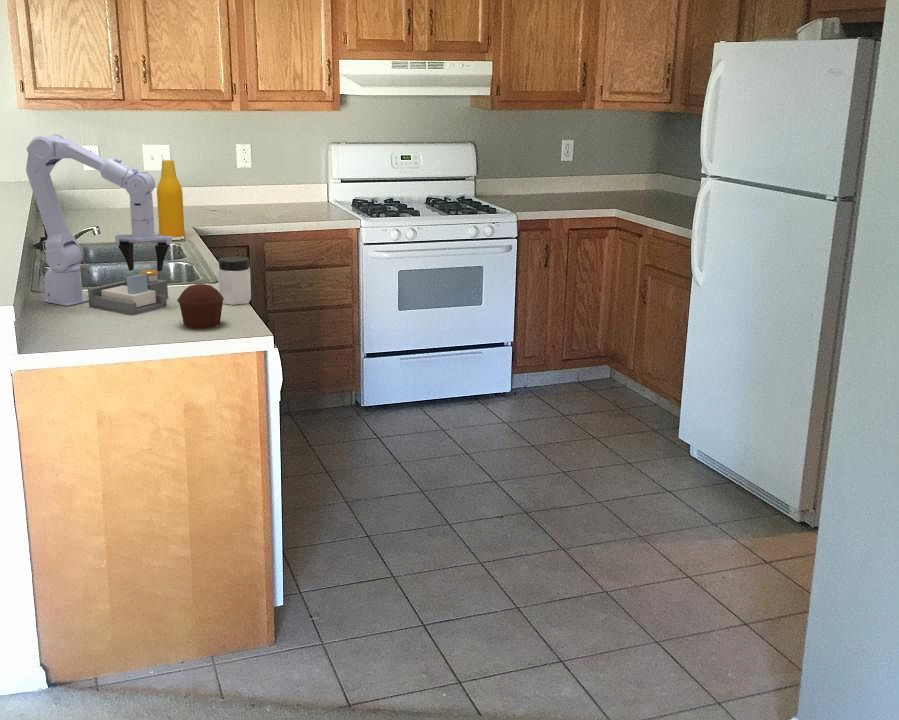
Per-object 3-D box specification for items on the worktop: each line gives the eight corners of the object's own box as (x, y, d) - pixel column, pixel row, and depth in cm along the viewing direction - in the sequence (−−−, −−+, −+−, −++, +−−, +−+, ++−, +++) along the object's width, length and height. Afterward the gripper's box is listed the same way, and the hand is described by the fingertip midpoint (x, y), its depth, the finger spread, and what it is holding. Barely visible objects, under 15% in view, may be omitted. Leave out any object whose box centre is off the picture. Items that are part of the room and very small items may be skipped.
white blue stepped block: (102, 301, 259) (99, 273, 257) (124, 296, 266) (122, 269, 263) (134, 307, 254) (132, 279, 252) (156, 302, 260) (154, 274, 258)
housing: (89, 307, 259) (87, 288, 258) (143, 294, 275) (142, 276, 274) (132, 315, 252) (131, 296, 250) (186, 301, 268) (185, 283, 266)
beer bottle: (169, 236, 371) (165, 159, 362) (190, 238, 367) (186, 160, 359) (154, 239, 362) (149, 160, 354) (175, 241, 359) (170, 162, 351)
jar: (223, 297, 273) (221, 255, 270) (252, 298, 274) (251, 256, 270) (217, 305, 265) (215, 261, 261) (247, 305, 265) (246, 262, 262)
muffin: (183, 318, 250) (181, 280, 247) (227, 319, 250) (226, 280, 248) (174, 330, 238) (172, 290, 235) (220, 330, 239) (218, 290, 236)
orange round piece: (138, 287, 268) (137, 271, 267) (150, 284, 271) (149, 269, 270) (149, 289, 266) (148, 273, 265) (161, 286, 269) (160, 271, 268)
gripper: (109, 220, 252) (113, 272, 256) (165, 222, 252) (168, 273, 256) (118, 216, 259) (122, 267, 263) (173, 218, 259) (175, 268, 263)
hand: (145, 270), depth 260 cm, fingers open, 7 cm apart
